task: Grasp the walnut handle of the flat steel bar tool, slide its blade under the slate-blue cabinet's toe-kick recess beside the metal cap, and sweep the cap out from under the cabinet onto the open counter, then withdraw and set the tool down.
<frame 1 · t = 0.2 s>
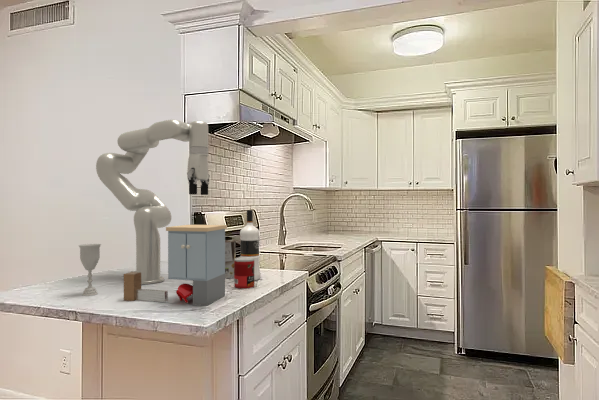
hand: (198, 194, 161), 36 cm above the worktop, tool pointing down, fingers open, 9 cm apart
blade tool: (132, 299, 137), on the worktop
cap: (187, 301, 135), on the worktop
vodka: (249, 279, 172), on the worktop
coffee box: (227, 277, 178), on the worktop
canned food: (244, 287, 157), on the worktop
chalice: (89, 294, 145), on the worktop
cabinet: (197, 299, 137), on the worktop
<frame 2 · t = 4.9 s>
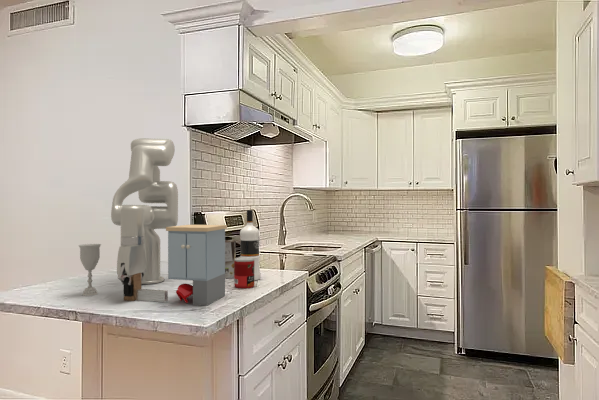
hand: (132, 294, 137), 2 cm above the worktop, tool pointing down, fingers closed on blade tool, 4 cm apart
blade tool: (132, 299, 137), on the worktop, touching gripper
everything else where it was.
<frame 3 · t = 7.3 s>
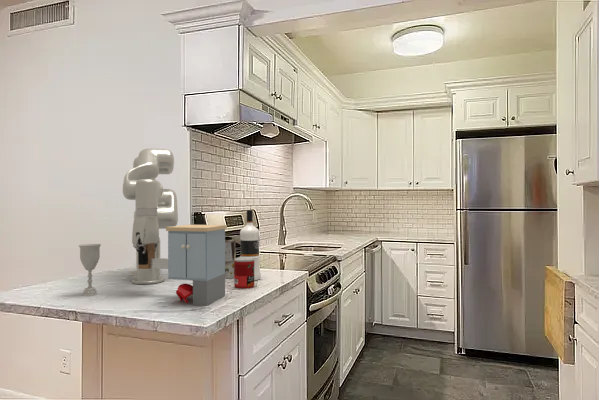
hand: (146, 263, 145), 11 cm above the worktop, tool pointing down, fingers closed on blade tool, 4 cm apart
blade tool: (146, 268, 145), point 10 cm above the worktop, touching gripper
everything else where it was.
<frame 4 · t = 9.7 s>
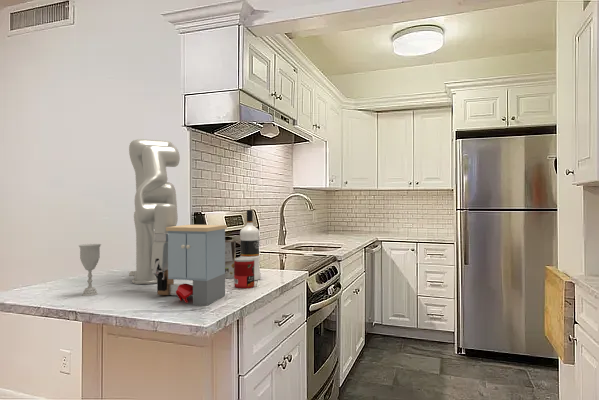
hand: (165, 288, 143), 2 cm above the worktop, tool pointing down, fingers closed on blade tool, 4 cm apart
blade tool: (165, 293, 143), point 1 cm above the worktop, touching gripper
everything else where it was.
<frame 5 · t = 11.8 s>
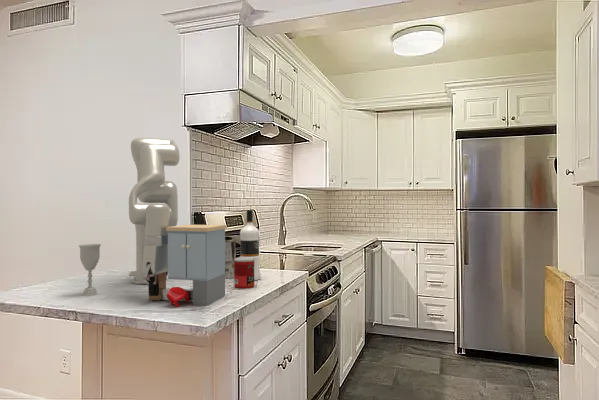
hand: (157, 293, 136), 2 cm above the worktop, tool pointing down, fingers closed on blade tool, 4 cm apart
blade tool: (157, 298, 136), on the worktop, touching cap, gripper
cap: (178, 305, 130), on the worktop, touching blade tool
everything else where it was.
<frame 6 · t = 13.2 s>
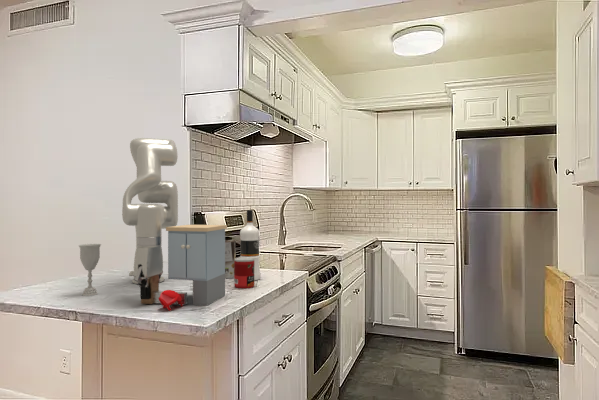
hand: (149, 296, 132), 2 cm above the worktop, tool pointing down, fingers closed on blade tool, 4 cm apart
blade tool: (150, 302, 132), on the worktop, touching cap, gripper
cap: (171, 309, 125), on the worktop, touching blade tool
everything else where it was.
when the fingers open (2 cm above the worktop, at t = 14.8 s): blade tool stays where it is, on the worktop.
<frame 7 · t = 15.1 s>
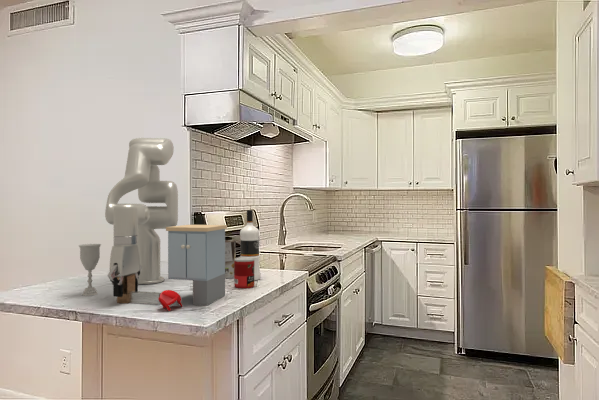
hand: (125, 293, 134), 3 cm above the worktop, tool pointing down, fingers open, 7 cm apart
blade tool: (126, 301, 134), on the worktop
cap: (170, 309, 125), on the worktop
everything else where it was.
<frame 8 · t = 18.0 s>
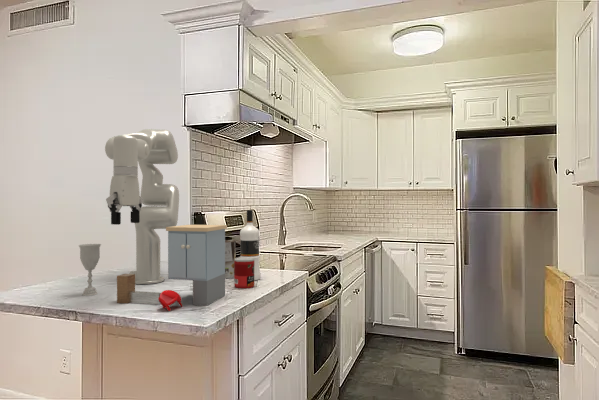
hand: (125, 223, 134), 26 cm above the worktop, tool pointing down, fingers open, 9 cm apart
nothing on the worktop moved.
at the end: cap inside the target area (3.7 cm from its centre), on the worktop; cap moved 10.1 cm from its start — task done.
